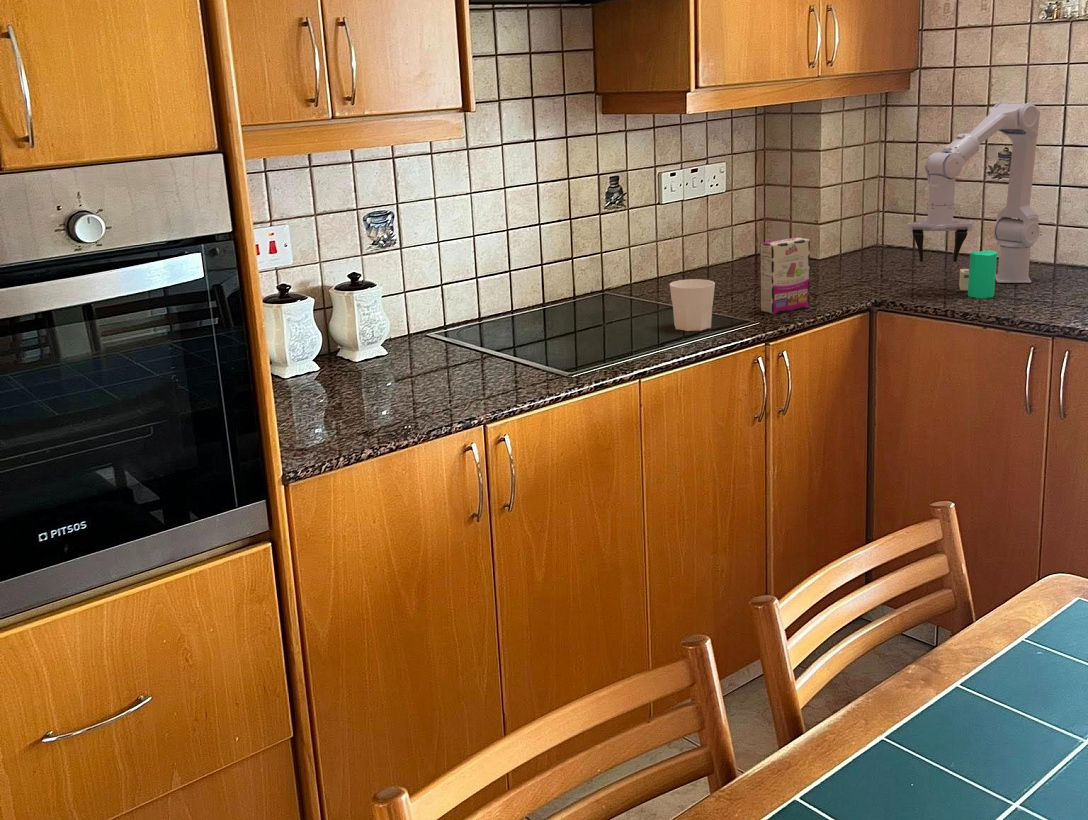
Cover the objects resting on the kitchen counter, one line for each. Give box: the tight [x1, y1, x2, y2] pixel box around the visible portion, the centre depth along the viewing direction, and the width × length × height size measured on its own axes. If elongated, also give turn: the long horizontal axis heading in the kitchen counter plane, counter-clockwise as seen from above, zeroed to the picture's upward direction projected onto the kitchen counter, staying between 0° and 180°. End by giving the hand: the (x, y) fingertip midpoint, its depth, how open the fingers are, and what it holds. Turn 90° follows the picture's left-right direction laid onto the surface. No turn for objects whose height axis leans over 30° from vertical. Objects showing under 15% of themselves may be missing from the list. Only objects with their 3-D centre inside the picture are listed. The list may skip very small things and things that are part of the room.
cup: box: [669, 278, 716, 332], centre depth 261 cm, size 10×10×10 cm
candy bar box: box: [759, 236, 811, 315], centre depth 273 cm, size 11×5×16 cm, turn 117°
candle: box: [967, 248, 998, 299], centre depth 278 cm, size 6×6×12 cm
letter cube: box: [958, 268, 969, 291], centre depth 288 cm, size 5×4×5 cm
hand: (937, 261), depth 280 cm, fingers open, 7 cm apart
